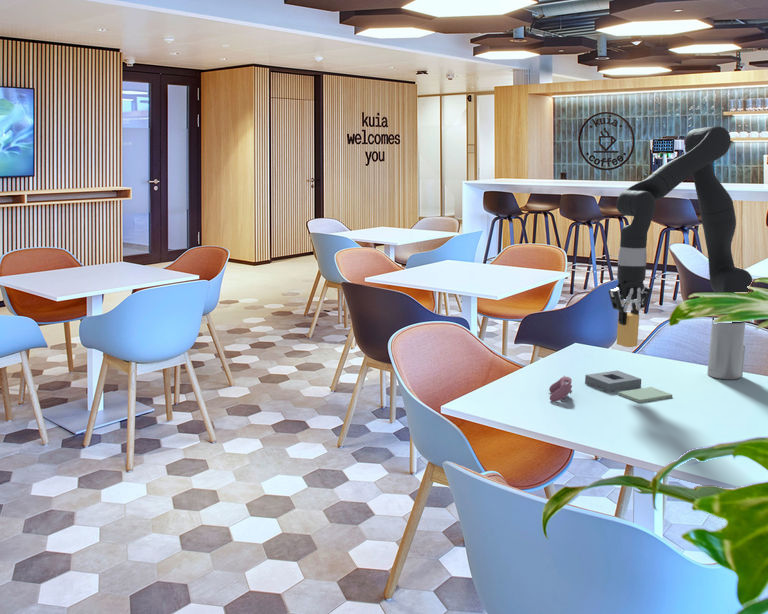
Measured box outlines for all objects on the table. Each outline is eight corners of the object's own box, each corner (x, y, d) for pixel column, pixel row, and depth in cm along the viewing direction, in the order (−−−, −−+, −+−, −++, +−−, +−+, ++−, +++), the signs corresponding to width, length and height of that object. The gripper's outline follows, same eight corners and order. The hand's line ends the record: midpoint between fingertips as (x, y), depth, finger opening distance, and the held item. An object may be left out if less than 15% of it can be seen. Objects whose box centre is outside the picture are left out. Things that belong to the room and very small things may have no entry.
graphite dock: (616, 378, 235) (617, 370, 235) (640, 387, 226) (641, 378, 226) (585, 383, 230) (585, 374, 230) (608, 392, 221) (608, 383, 221)
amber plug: (625, 342, 225) (627, 312, 223) (637, 346, 221) (639, 315, 219) (616, 344, 224) (618, 313, 222) (627, 347, 220) (629, 316, 218)
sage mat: (651, 389, 224) (651, 386, 224) (672, 397, 217) (672, 394, 217) (618, 394, 219) (618, 391, 219) (638, 402, 212) (639, 399, 212)
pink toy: (563, 408, 212) (576, 386, 210) (548, 400, 212) (561, 378, 210) (562, 397, 221) (574, 376, 220) (547, 389, 222) (560, 369, 220)
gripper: (642, 260, 224) (638, 319, 227) (602, 262, 218) (599, 323, 222) (661, 263, 217) (657, 324, 221) (621, 266, 212) (617, 328, 215)
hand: (628, 323), depth 221 cm, fingers closed on amber plug, 3 cm apart
